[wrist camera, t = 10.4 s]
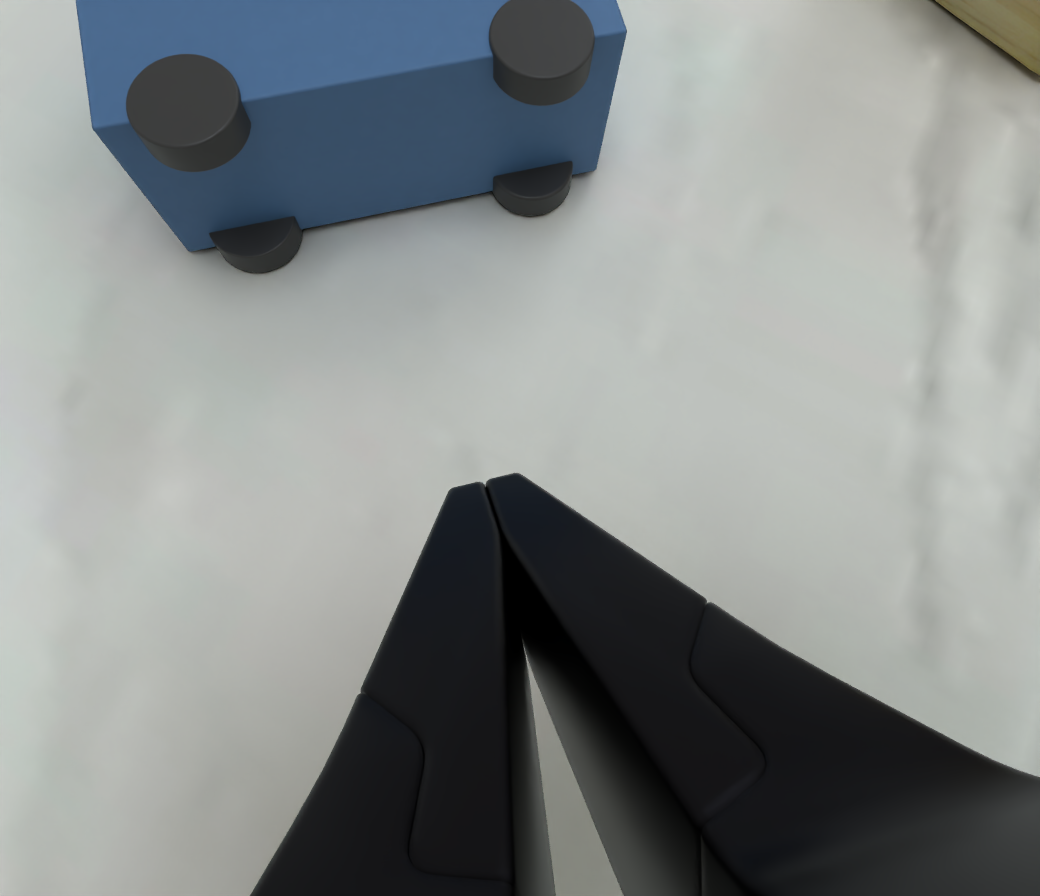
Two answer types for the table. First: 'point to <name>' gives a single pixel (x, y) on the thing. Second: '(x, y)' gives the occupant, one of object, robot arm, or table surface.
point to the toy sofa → (1004, 25)
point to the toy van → (344, 108)
